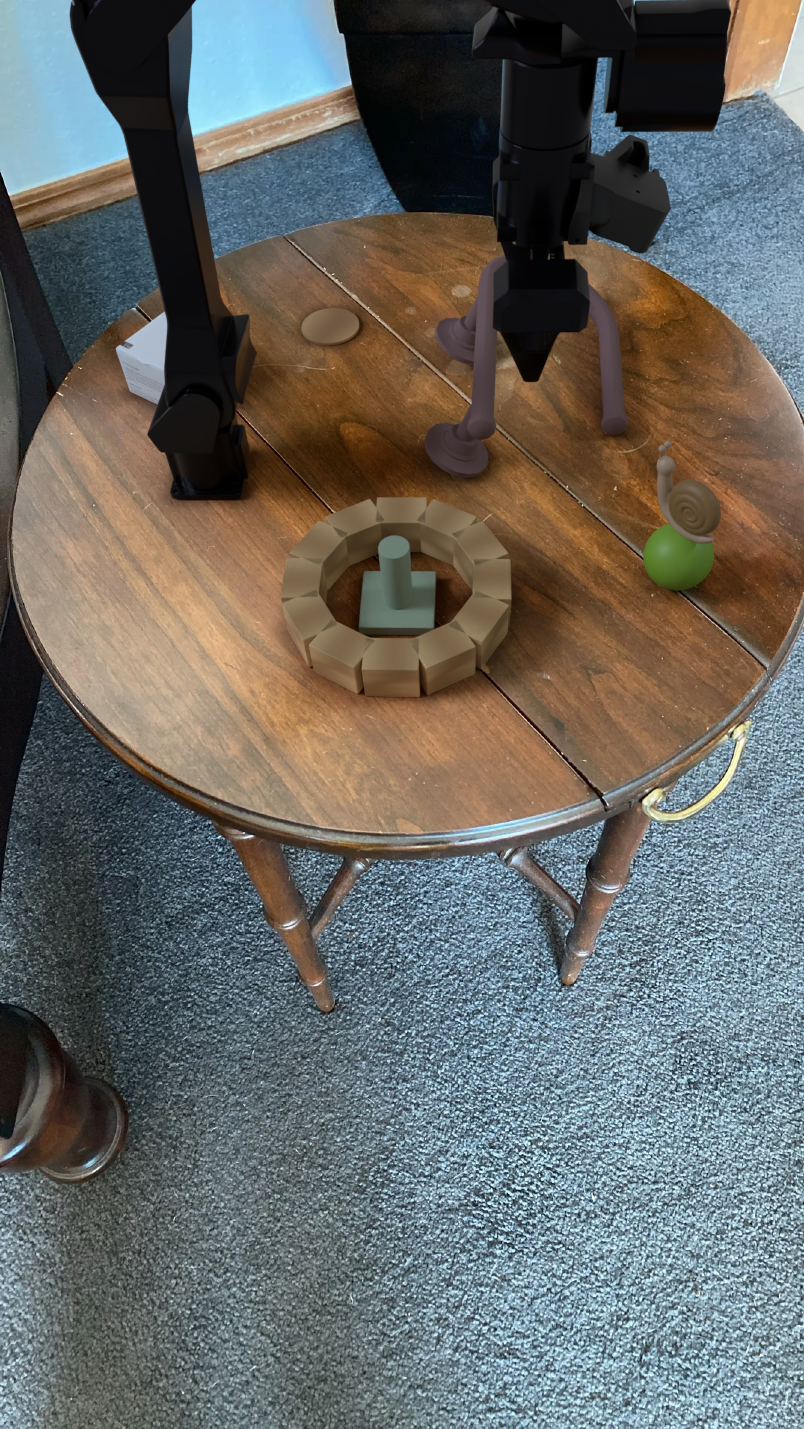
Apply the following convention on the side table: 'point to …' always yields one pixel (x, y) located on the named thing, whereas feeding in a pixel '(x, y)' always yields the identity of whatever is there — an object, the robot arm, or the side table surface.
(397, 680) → the birch ring
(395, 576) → the peg stand
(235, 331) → the robot arm
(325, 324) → the cork coaster
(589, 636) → the side table surface
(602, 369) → the toilet paper hanger
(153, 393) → the small box
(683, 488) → the snail figurine
